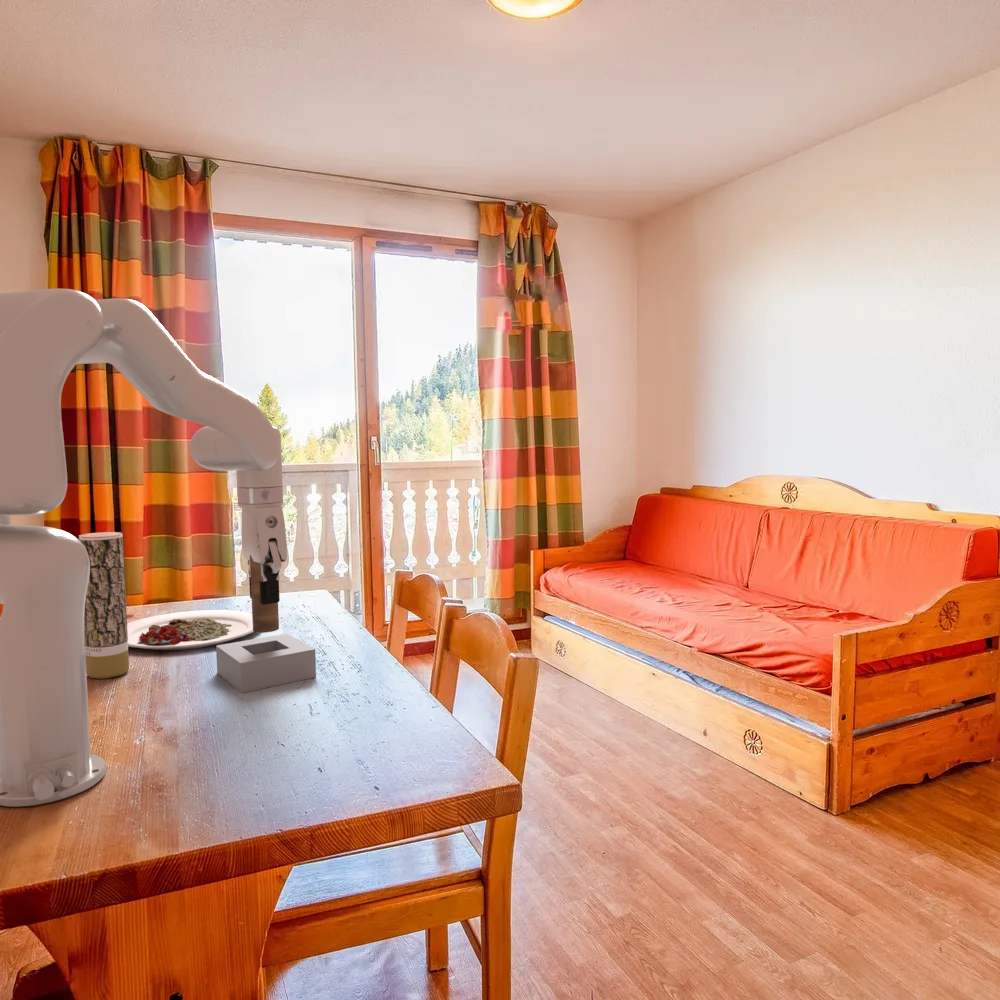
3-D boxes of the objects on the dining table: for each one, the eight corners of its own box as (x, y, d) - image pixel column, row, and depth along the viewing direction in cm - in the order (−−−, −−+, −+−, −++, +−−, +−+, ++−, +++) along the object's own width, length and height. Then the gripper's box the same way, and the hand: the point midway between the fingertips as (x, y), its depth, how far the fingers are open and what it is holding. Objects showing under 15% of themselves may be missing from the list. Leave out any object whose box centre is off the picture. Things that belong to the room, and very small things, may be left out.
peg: (282, 629, 132) (279, 551, 131) (258, 634, 129) (254, 553, 128) (273, 624, 136) (270, 547, 134) (249, 628, 133) (245, 550, 132)
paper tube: (111, 681, 130) (104, 537, 128) (77, 678, 131) (69, 536, 129) (137, 669, 137) (131, 532, 134) (105, 667, 138) (97, 531, 136)
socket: (316, 677, 132) (315, 649, 131) (241, 692, 124) (240, 663, 123) (287, 659, 142) (286, 633, 142) (217, 673, 134) (216, 645, 134)
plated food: (281, 618, 175) (281, 603, 175) (233, 656, 145) (232, 639, 145) (153, 617, 176) (153, 603, 175) (79, 655, 146) (78, 638, 146)
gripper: (300, 499, 126) (304, 606, 128) (264, 492, 139) (268, 589, 141) (256, 502, 121) (260, 613, 123) (223, 494, 135) (227, 595, 136)
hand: (264, 599), depth 132 cm, fingers closed on peg, 4 cm apart
